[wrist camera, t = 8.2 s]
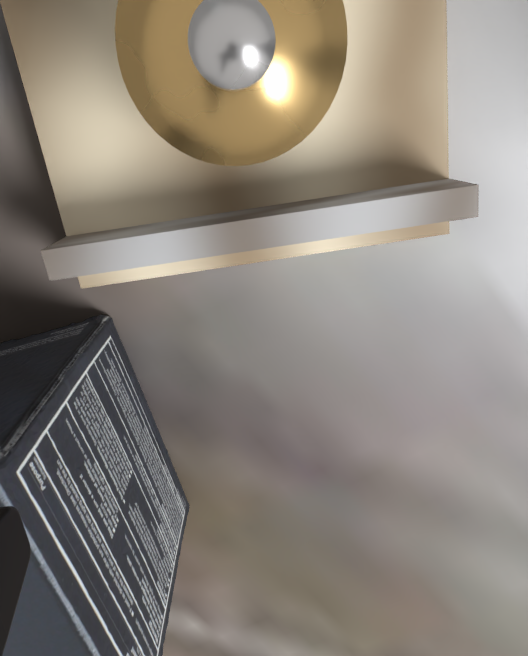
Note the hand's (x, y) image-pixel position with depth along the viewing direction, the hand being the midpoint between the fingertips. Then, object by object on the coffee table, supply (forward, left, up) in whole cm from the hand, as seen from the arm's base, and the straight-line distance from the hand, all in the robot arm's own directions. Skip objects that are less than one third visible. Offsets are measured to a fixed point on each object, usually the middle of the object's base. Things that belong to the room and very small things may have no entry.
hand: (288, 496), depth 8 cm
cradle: (0, -7, -13) cm, 15 cm away
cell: (0, -7, -12) cm, 14 cm away
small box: (+9, +6, -13) cm, 17 cm away
